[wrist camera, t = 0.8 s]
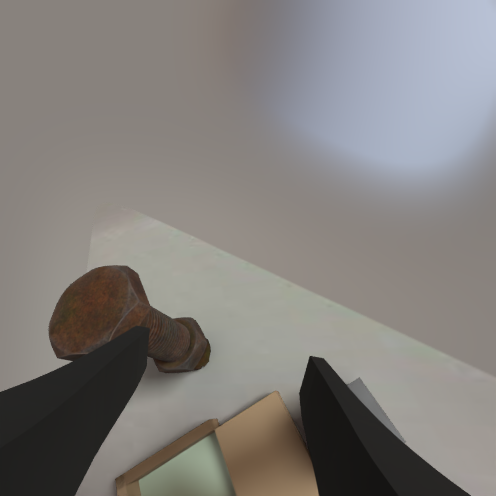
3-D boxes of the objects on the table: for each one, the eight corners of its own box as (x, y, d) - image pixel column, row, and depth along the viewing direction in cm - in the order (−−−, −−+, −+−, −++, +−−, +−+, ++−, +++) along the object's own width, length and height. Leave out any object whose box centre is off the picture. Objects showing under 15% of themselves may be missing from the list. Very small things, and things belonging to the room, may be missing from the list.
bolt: (171, 382, 25) (27, 359, 13) (176, 331, 28) (62, 273, 16) (225, 378, 24) (124, 349, 12) (226, 326, 27) (144, 258, 15)
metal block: (388, 435, 19) (406, 443, 15) (345, 464, 19) (351, 481, 15) (352, 382, 22) (359, 376, 17) (313, 408, 21) (310, 408, 17)
